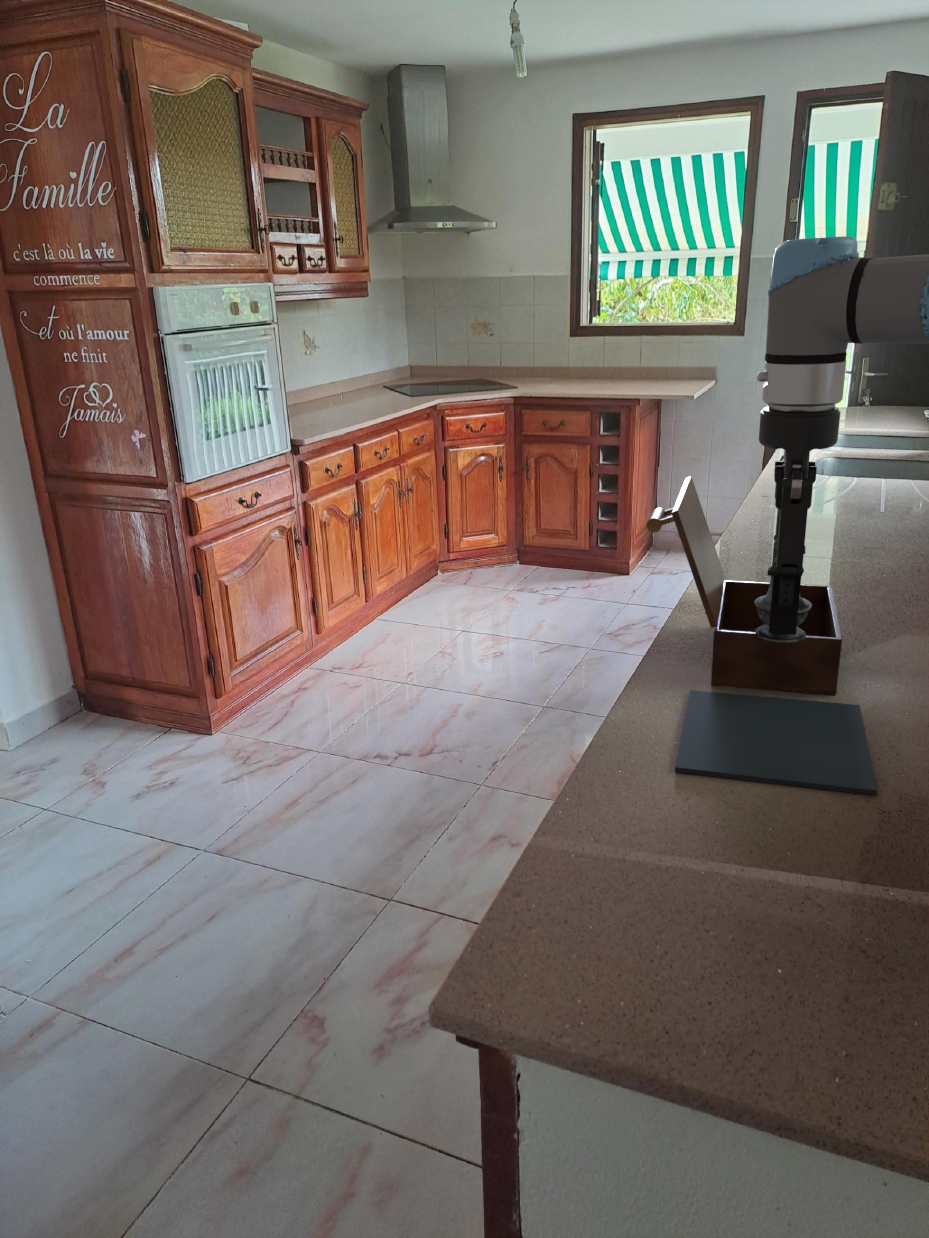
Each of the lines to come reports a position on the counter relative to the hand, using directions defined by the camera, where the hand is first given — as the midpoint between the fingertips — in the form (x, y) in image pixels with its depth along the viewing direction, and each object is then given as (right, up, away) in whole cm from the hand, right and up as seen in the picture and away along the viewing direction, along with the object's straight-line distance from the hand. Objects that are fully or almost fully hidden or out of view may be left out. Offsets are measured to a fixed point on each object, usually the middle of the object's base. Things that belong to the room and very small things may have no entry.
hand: (781, 621), depth 96 cm
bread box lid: (-2, +10, +24) cm, 26 cm away
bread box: (+8, -5, +26) cm, 28 cm away
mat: (+1, -13, +5) cm, 14 cm away
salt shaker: (0, -1, +1) cm, 2 cm away
